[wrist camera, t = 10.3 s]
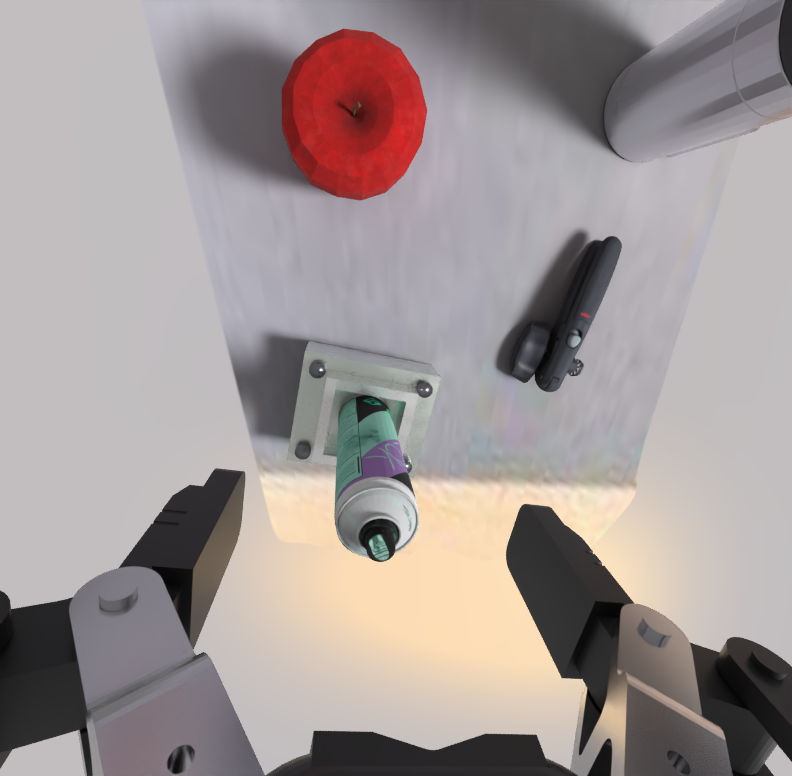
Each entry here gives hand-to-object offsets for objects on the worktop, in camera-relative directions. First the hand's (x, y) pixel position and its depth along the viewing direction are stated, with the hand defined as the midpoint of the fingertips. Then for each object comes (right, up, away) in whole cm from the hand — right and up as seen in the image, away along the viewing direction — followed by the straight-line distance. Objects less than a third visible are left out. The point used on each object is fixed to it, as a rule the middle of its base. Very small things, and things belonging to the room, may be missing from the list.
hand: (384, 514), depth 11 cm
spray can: (-3, +1, +31) cm, 31 cm away
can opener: (+19, +12, +35) cm, 42 cm away
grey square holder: (-4, +2, +35) cm, 35 cm away
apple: (-4, +26, +27) cm, 38 cm away
